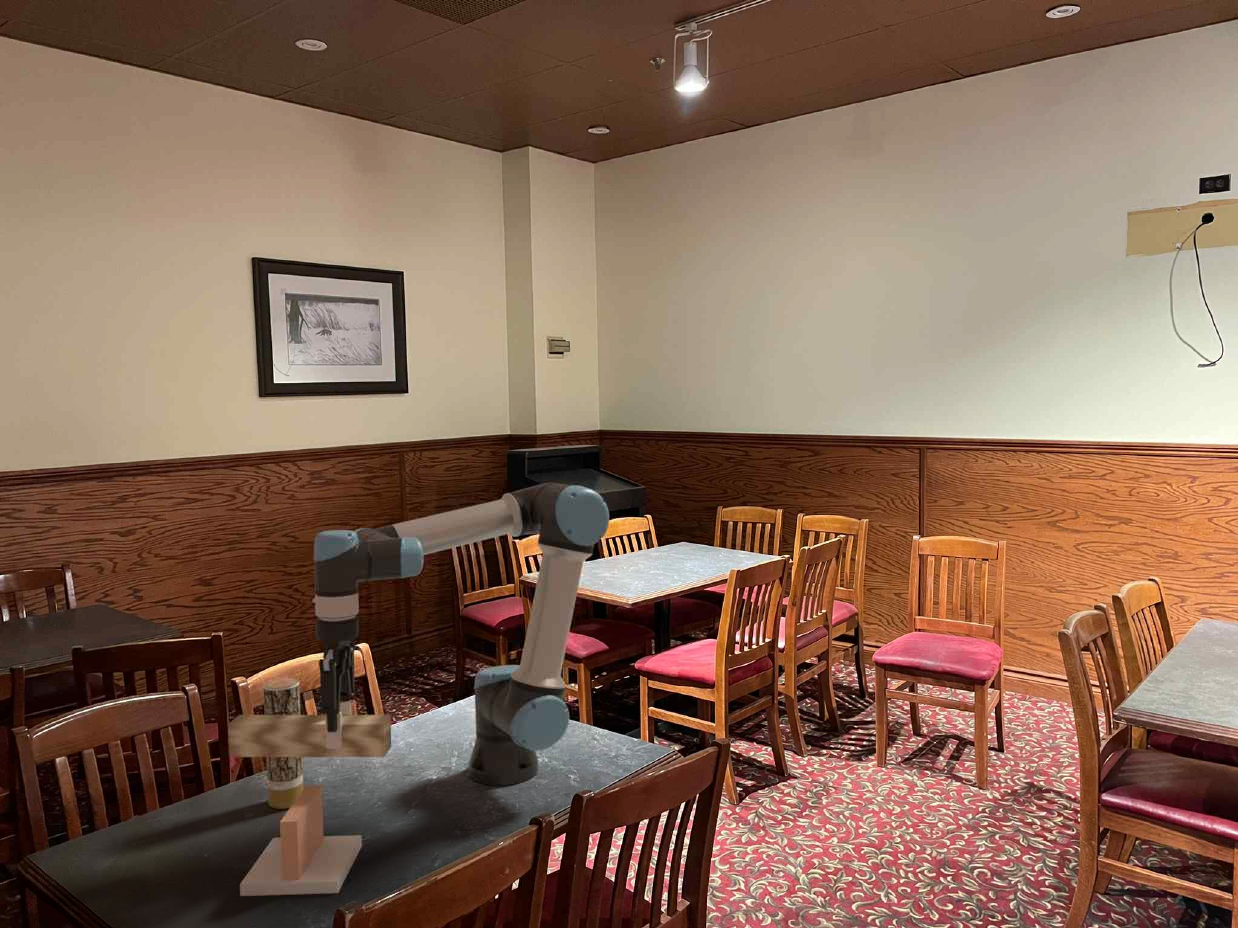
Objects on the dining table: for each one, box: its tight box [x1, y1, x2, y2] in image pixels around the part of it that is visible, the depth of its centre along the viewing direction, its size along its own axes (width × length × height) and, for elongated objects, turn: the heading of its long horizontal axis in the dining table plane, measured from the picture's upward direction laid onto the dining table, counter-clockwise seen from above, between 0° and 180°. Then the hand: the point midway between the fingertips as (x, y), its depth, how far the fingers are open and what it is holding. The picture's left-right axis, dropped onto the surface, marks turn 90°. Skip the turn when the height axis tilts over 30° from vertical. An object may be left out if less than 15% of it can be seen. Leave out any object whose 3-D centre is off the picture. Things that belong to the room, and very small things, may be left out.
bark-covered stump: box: [263, 677, 304, 810], centre depth 184 cm, size 7×7×25 cm
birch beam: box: [227, 714, 392, 758], centre depth 166 cm, size 28×5×6 cm, turn 90°
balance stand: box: [239, 785, 363, 897], centre depth 158 cm, size 16×16×12 cm
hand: (339, 741), depth 166 cm, fingers closed on birch beam, 5 cm apart
